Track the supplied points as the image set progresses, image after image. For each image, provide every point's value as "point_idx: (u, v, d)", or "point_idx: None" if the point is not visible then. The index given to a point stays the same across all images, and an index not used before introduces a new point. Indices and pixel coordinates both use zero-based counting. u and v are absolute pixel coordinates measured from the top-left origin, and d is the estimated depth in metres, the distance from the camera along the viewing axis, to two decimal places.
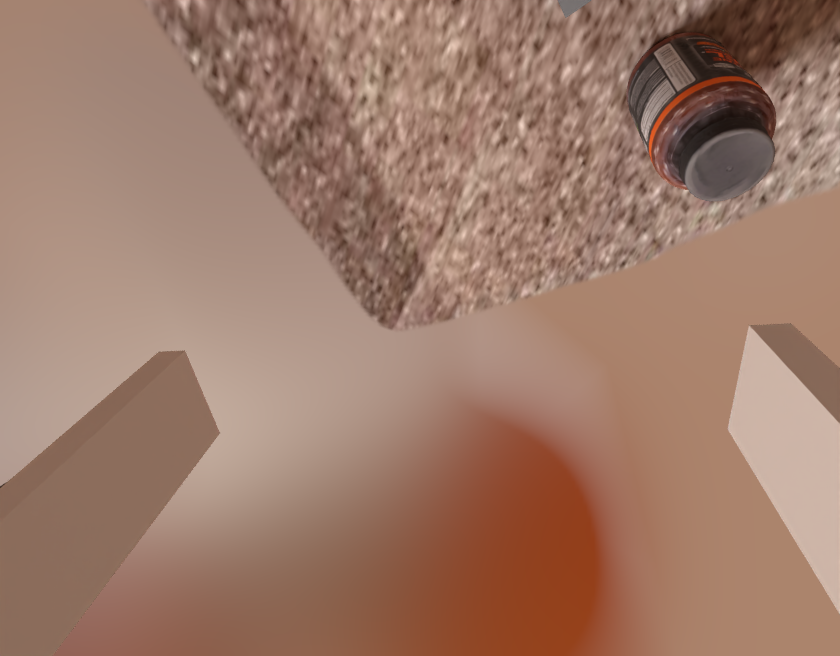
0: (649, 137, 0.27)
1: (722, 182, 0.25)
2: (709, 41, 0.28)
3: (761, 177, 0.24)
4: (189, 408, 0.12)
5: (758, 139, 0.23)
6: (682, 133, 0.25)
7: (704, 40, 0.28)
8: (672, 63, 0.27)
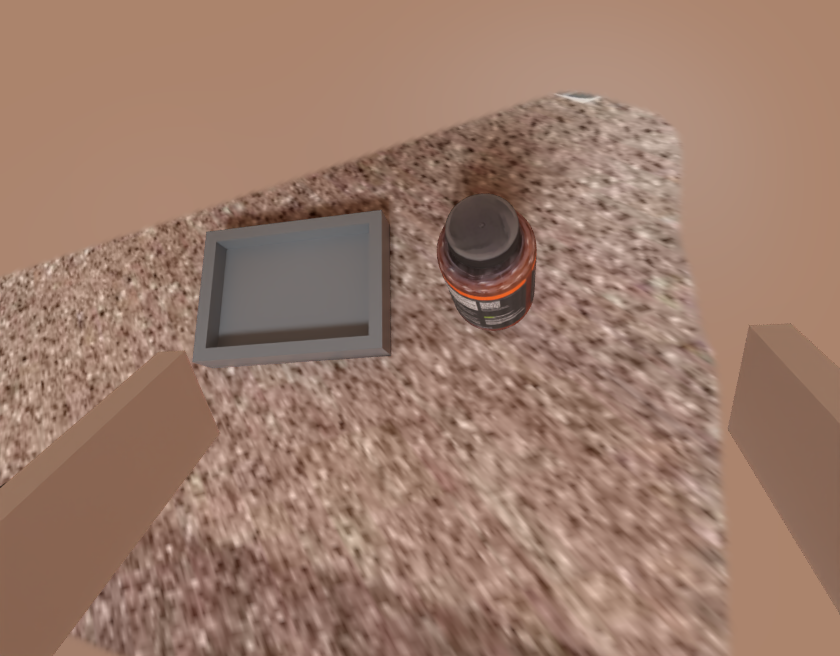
0: (467, 297, 0.29)
1: (494, 231, 0.26)
2: None
3: (505, 202, 0.26)
4: (189, 408, 0.12)
5: (464, 203, 0.26)
6: (453, 264, 0.28)
7: None
8: None
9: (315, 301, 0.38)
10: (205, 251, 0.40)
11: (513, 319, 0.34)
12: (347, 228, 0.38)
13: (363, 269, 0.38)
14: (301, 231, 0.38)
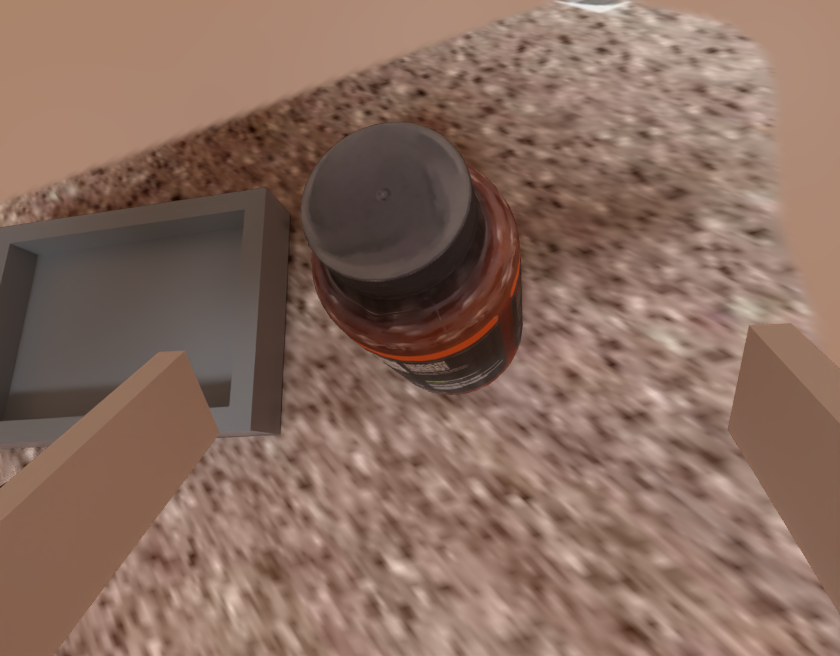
0: (377, 354, 0.14)
1: (410, 209, 0.10)
2: None
3: (440, 140, 0.11)
4: (189, 408, 0.12)
5: (345, 145, 0.11)
6: (335, 285, 0.12)
7: None
8: None
9: (160, 341, 0.23)
10: None
11: (484, 379, 0.18)
12: (212, 219, 0.23)
13: None
14: (139, 225, 0.23)
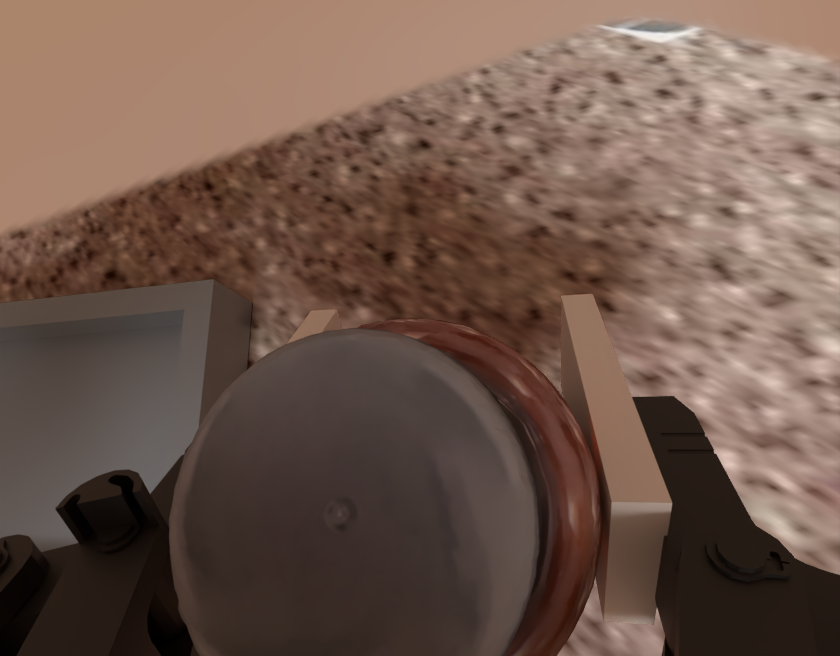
0: None
1: (400, 564, 0.05)
2: None
3: (466, 391, 0.05)
4: None
5: (266, 378, 0.05)
6: None
7: None
8: None
9: (73, 480, 0.17)
10: None
11: None
12: (144, 318, 0.17)
13: None
14: (48, 323, 0.18)
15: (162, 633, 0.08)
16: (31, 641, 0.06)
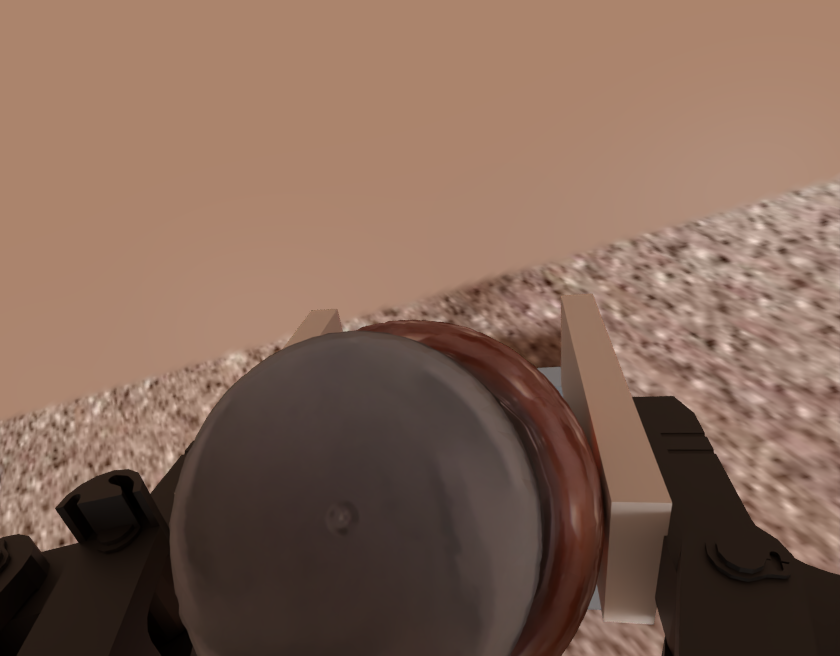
0: None
1: (402, 569, 0.05)
2: None
3: (468, 394, 0.05)
4: None
5: (267, 381, 0.05)
6: None
7: None
8: None
9: None
10: None
11: None
12: None
13: None
14: None
15: (162, 633, 0.08)
16: (31, 642, 0.06)
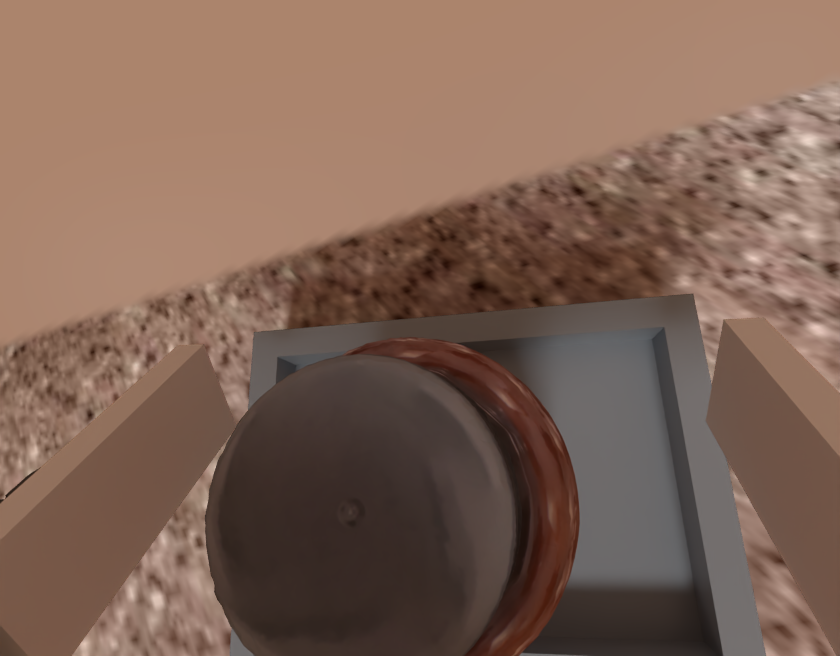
0: None
1: (401, 554, 0.06)
2: None
3: (456, 409, 0.06)
4: (208, 401, 0.13)
5: (288, 397, 0.06)
6: None
7: None
8: None
9: None
10: (253, 379, 0.17)
11: None
12: (598, 335, 0.16)
13: (638, 434, 0.16)
14: (483, 340, 0.16)
15: None
16: None
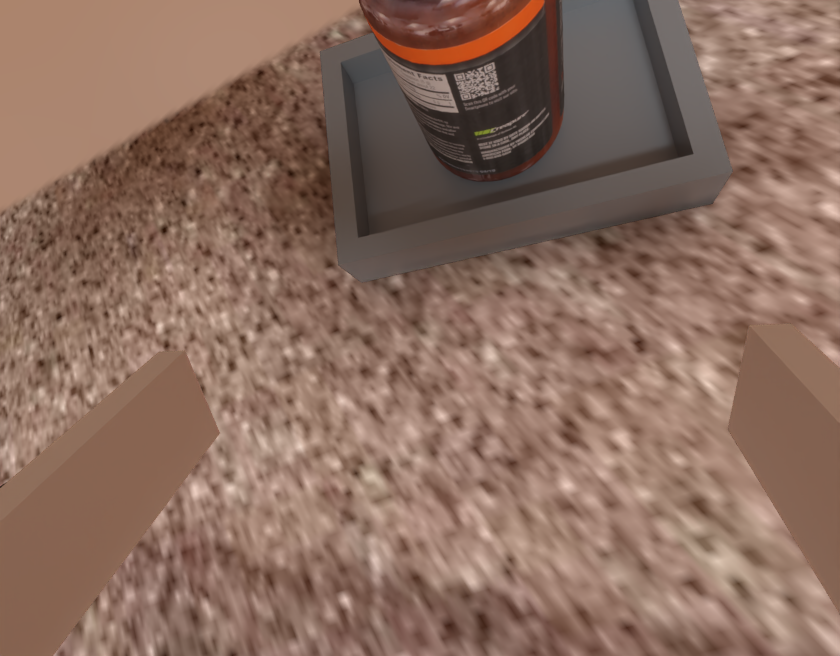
0: (428, 68, 0.14)
1: None
2: None
3: None
4: (189, 408, 0.12)
5: None
6: None
7: None
8: None
9: None
10: (324, 82, 0.23)
11: (531, 143, 0.18)
12: None
13: (625, 57, 0.20)
14: None
15: None
16: None
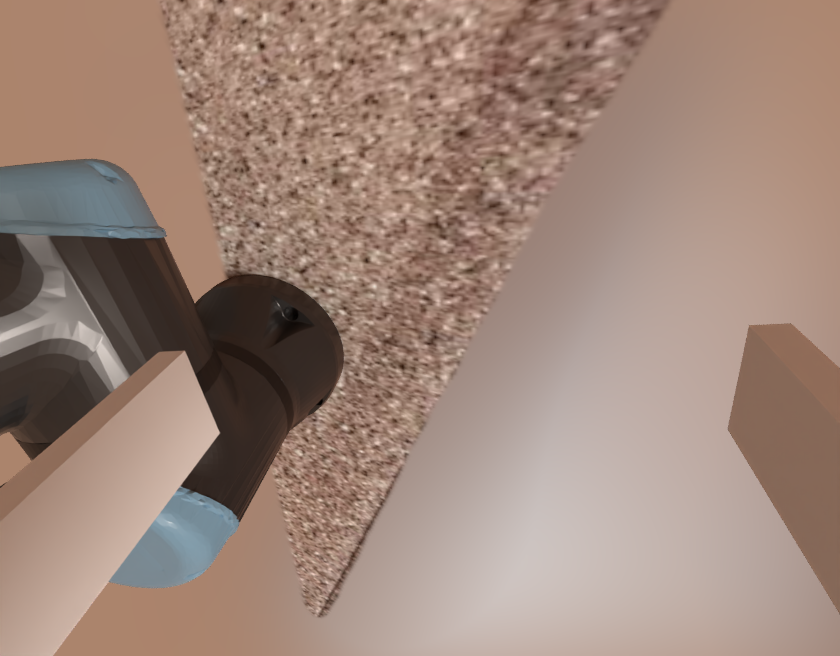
0: None
1: None
2: None
3: None
4: (189, 408, 0.12)
5: None
6: None
7: None
8: None
9: None
10: None
11: None
12: None
13: None
14: None
15: None
16: None
